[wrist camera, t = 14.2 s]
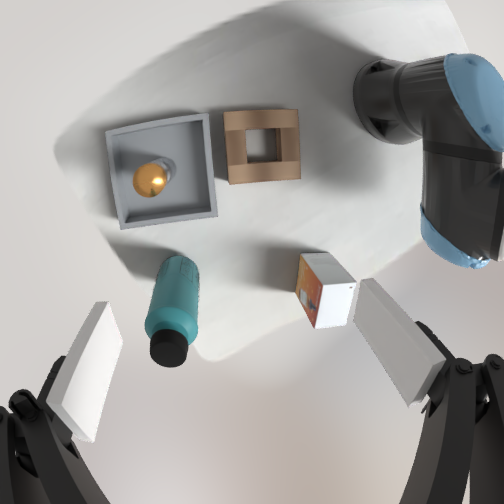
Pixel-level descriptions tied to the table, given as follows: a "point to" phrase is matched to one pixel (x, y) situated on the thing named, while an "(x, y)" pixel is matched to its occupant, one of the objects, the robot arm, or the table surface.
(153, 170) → the pin
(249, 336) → the table surface
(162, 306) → the beverage bottle
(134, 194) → the tray
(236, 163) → the block
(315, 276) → the small box
